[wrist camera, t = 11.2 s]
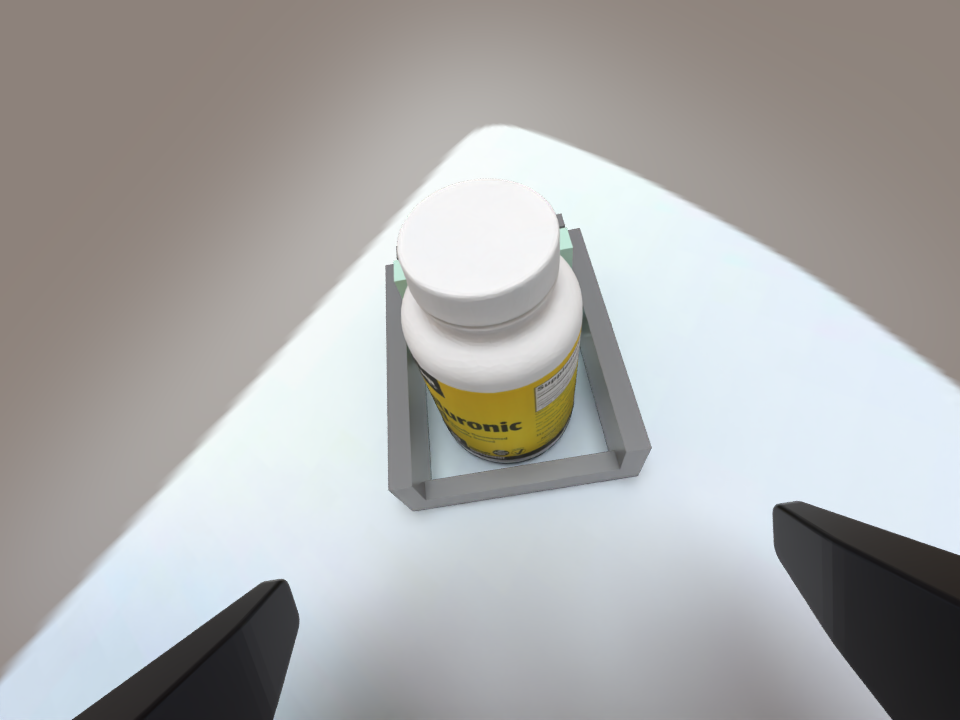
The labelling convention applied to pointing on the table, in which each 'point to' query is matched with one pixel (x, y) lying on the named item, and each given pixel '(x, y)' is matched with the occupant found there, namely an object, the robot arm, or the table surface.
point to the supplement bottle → (492, 315)
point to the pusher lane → (621, 461)
